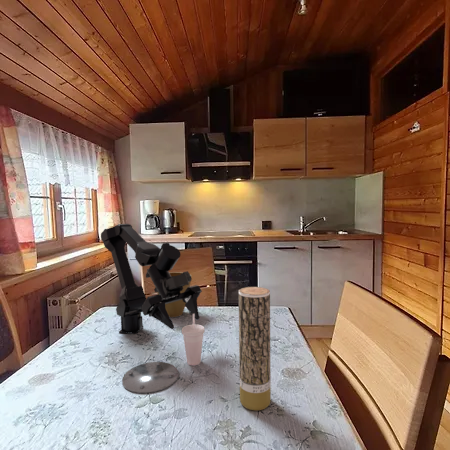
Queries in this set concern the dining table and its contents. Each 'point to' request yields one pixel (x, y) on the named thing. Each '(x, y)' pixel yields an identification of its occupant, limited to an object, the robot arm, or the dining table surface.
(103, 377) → the dining table surface
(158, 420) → the dining table surface
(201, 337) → the smoothie
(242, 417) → the dining table surface
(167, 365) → the flange plate
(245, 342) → the paper tube
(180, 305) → the plant pot
